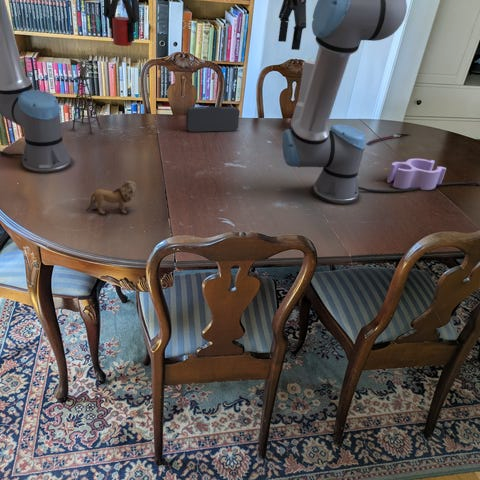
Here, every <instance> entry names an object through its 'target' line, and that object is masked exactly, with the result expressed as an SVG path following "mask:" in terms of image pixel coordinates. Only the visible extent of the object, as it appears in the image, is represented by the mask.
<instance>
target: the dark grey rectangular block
mask: <svg viewBox="0 0 480 480" xmlns="http://www.w3.org/2000/svg"><path fill="white" fill-rule="evenodd" d="M185 111H186V114H185V118H186V119H185V129H186V130H187V131H188V132H191V133H192V132H193V133H196V132H197V133H199V132H200V133H201V132H226V131H227V132H232V131H233V132H234V131H237V130H238V129H239V124H240V123H239V121H240V119H239V118H240V113H241V111H240V109H239V108H238V107H237V106H190V107H187V109H186V110H185Z"/></svg>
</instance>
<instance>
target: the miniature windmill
mask: <svg viewBox="0 0 480 480" xmlns="http://www.w3.org/2000/svg"><path fill="white" fill-rule="evenodd" d="M78 56H79V57H77V59H78V60H76V59H73V58H69V61H70V66H77V68H78V69H77V71H78V73H79V76H77V77H75V80H78V84H77V89H76V96H75V98H76V99H75V103H74V104H75V105H74V113H73V119H72V129H71V130H72V131H75V125H76V123H80V124H81V125H84V124H85V125H88V127H89V133H90V134H92V133H93V131H92V124H93V123H95V122H96V121H97V126H98V127H99V128H101V127H102V126H101V123H100V117H99V116H98V112H97V110H96V105H95V104H94V100H93V97H92V95H93V94H91V91H90V87H89V85H90V84H89V83H88V80H89V79H91V78H92V77H91V76H87V75H88V74H89V70H90V64H89V63H90V60H89V59H90V57H88V56H89V54H88V53H86V52H85V50H84V51H82V52H81V53H79V55H78ZM86 88H87V91H88V93H87V91H86ZM80 91H81V92H80ZM79 98H80V99H79ZM88 98H90V102H91V104H89V103H88ZM84 100H85V103H84ZM80 102H81V104H80V105H78V103H80ZM84 106H85V107H86V108H84ZM92 109H93V111H94V112H93V113H94V115H95V116H91V115H90V110H92ZM77 110H78V111H77ZM84 111H86V114H87V115H84ZM80 112H81V115H79V116H78V117H77V114H79V113H80ZM80 118H81V121H79V120H78V119H80ZM84 118H87V120H88V122H87V121H86V122H85V121H84ZM91 119H94V120H93V121H91Z"/></svg>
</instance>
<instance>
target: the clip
mask: <svg viewBox="0 0 480 480" xmlns="http://www.w3.org/2000/svg"><path fill="white" fill-rule="evenodd" d="M435 162H436V160H433V159H431V160H429V159H424V158H414V157H413V158H409V159H407V160H406V161H393V162H392V163H391V166H390V170H389V172H388V176H387V179H386V183H388V184H391V183H392V182H393V184H392V188H396V189H398V190H402V189H410V188H416V187H421V189H420V190H421V191H422V190H423V191H430V190H434V189H435V188H436V187H437V186H436V184H441V183H443V180H444V176H445V174H446V171H447V167H445V166H440V165H439V166H436V168H435V170H433V168H434V164H435Z"/></svg>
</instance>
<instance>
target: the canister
mask: <svg viewBox="0 0 480 480" xmlns="http://www.w3.org/2000/svg"><path fill="white" fill-rule="evenodd" d="M128 22H129V19H128V16H115V17H112V23H113V39H112V40H113V45H115V46H121V47H130V46H133V42H128V24H127V23H128Z"/></svg>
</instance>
